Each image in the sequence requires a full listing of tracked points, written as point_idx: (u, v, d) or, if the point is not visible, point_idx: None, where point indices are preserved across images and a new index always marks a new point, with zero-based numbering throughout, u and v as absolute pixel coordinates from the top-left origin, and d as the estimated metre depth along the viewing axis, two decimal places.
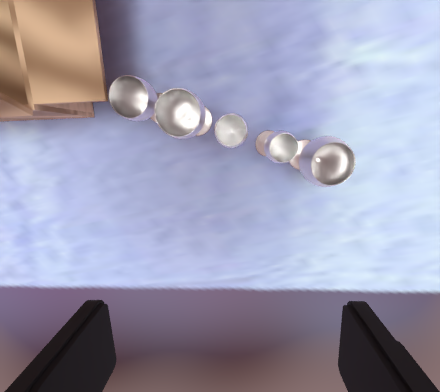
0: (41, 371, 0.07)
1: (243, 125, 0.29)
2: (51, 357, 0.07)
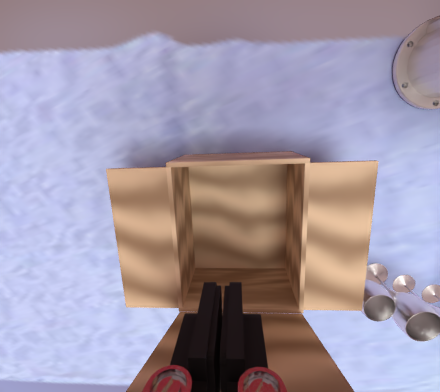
0: (208, 338, 0.08)
1: None
2: (208, 327, 0.08)
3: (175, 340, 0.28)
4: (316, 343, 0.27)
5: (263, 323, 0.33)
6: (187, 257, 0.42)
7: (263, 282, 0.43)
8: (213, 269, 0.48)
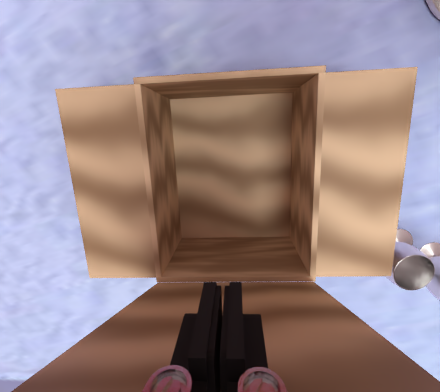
0: (208, 338, 0.08)
1: None
2: (208, 327, 0.08)
3: (142, 309, 0.20)
4: (340, 309, 0.19)
5: (264, 291, 0.25)
6: (169, 218, 0.33)
7: (263, 250, 0.35)
8: (202, 238, 0.40)
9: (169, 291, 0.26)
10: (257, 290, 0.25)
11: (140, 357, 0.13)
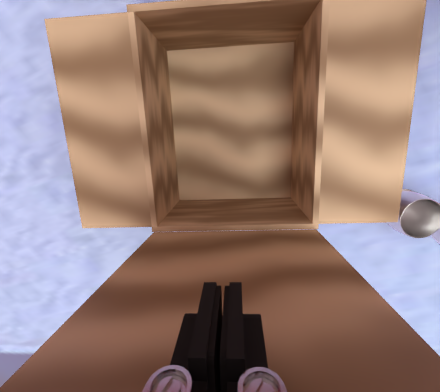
0: (208, 338, 0.08)
1: None
2: (208, 327, 0.08)
3: (136, 271, 0.19)
4: (347, 269, 0.18)
5: (265, 243, 0.24)
6: (165, 171, 0.32)
7: (263, 206, 0.34)
8: (201, 200, 0.39)
9: (165, 245, 0.24)
10: (257, 242, 0.24)
11: (132, 345, 0.12)
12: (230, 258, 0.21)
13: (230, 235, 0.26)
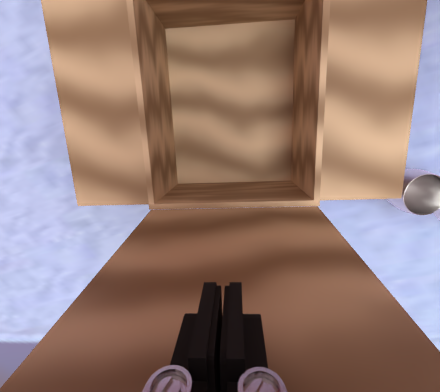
0: (208, 337, 0.08)
1: None
2: (208, 327, 0.08)
3: (133, 255, 0.19)
4: (348, 252, 0.18)
5: (265, 222, 0.23)
6: (163, 150, 0.32)
7: (263, 187, 0.33)
8: (199, 183, 0.38)
9: (163, 224, 0.24)
10: (257, 221, 0.23)
11: (131, 341, 0.12)
12: (229, 240, 0.20)
13: (229, 213, 0.26)
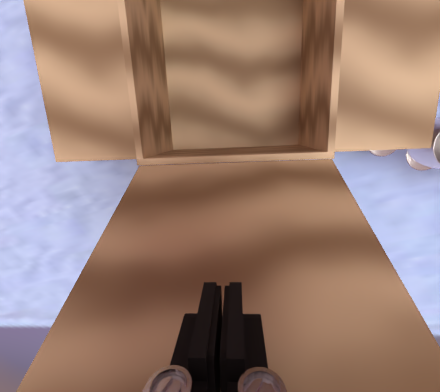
0: (208, 338, 0.08)
1: None
2: (208, 327, 0.08)
3: (123, 239, 0.17)
4: (366, 234, 0.16)
5: (271, 186, 0.20)
6: (155, 104, 0.28)
7: (268, 148, 0.29)
8: (197, 148, 0.34)
9: (153, 190, 0.21)
10: (261, 185, 0.20)
11: (126, 367, 0.11)
12: (230, 215, 0.18)
13: (229, 171, 0.22)
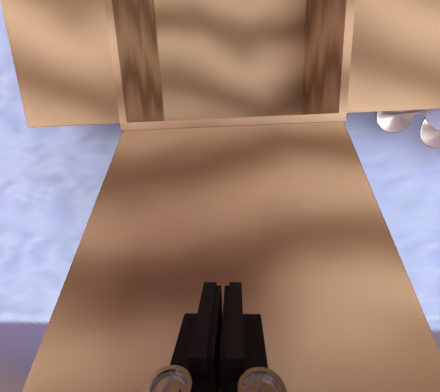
0: (208, 337, 0.08)
1: None
2: (208, 327, 0.08)
3: (111, 228, 0.15)
4: (375, 222, 0.14)
5: (273, 159, 0.18)
6: (143, 67, 0.25)
7: None
8: None
9: (141, 164, 0.19)
10: (262, 157, 0.18)
11: (124, 377, 0.11)
12: (227, 197, 0.16)
13: (225, 138, 0.20)
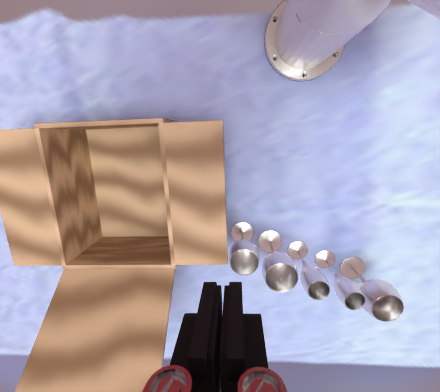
0: (208, 338, 0.08)
1: None
2: (208, 327, 0.08)
3: (49, 334, 0.35)
4: (161, 335, 0.34)
5: (131, 294, 0.37)
6: (80, 221, 0.44)
7: (156, 246, 0.46)
8: (118, 237, 0.51)
9: (69, 294, 0.38)
10: (127, 292, 0.37)
11: None
12: (104, 318, 0.35)
13: (113, 277, 0.39)
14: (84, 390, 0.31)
